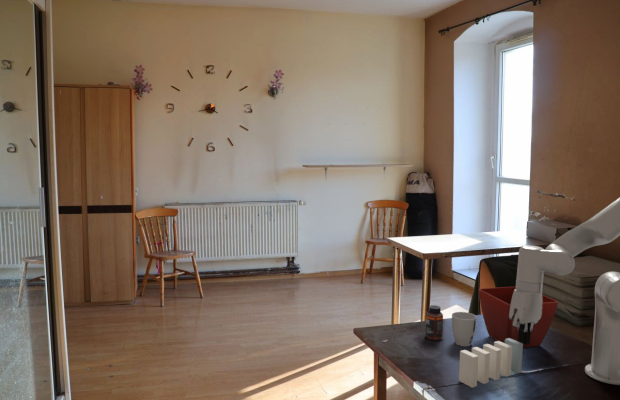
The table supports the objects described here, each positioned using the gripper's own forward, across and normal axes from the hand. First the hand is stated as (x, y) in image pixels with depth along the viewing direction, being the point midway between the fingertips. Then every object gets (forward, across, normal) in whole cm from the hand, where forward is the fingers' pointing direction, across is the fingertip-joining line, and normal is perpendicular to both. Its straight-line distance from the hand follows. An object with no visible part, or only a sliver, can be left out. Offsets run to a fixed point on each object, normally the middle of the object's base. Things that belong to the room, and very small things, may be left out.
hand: (523, 342), depth 159 cm
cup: (+8, +3, -21) cm, 23 cm away
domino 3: (+8, +15, +1) cm, 17 cm away
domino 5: (+7, +5, +1) cm, 9 cm away
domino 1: (+8, +24, +1) cm, 26 cm away
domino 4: (+8, +10, +1) cm, 13 cm away
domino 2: (+8, +20, +1) cm, 21 cm away
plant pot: (+8, -15, -14) cm, 22 cm away
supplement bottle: (+8, +8, -30) cm, 32 cm away
